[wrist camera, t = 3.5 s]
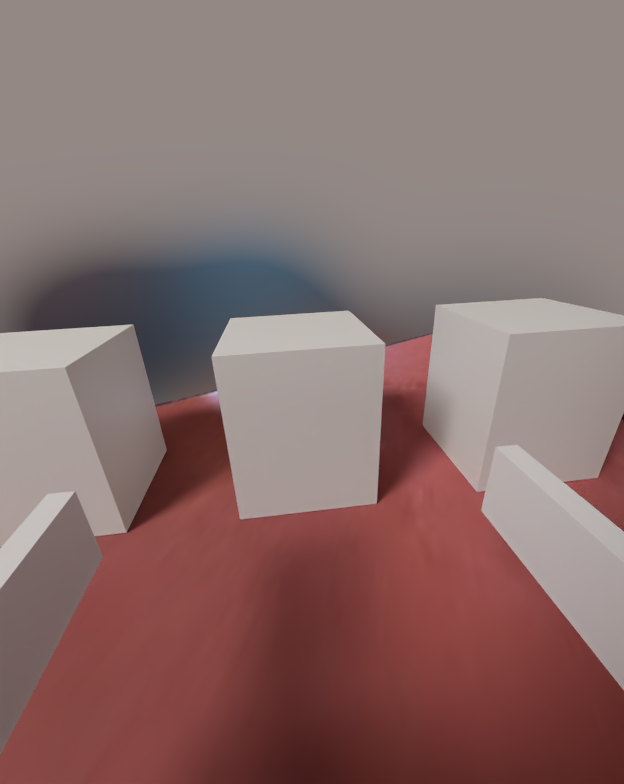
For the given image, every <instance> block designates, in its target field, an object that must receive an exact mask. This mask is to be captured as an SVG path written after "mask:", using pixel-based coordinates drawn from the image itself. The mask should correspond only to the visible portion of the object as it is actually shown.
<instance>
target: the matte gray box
mask: <svg viewBox="0 0 624 784" xmlns="http://www.w3.org/2000/svg"><path fill="white" fill-rule="evenodd" d="M166 451H167V449H166V445H165V442H164V438H163V434H162V430H161V427H160V423H159V419H158V415H157V412H156V408H155V404H154V401H153V397H152V393H151V389H150V386H149V382H148V378H147V374H146V371H145V367H144V363H143V359H142V356H141V352H140V348H139V344H138V341H137V337H136V333H135V330H134V326H133V325H121V326H104V327H89V328H74V329H59V330H45V331H44V330H43V331H28V332H12V333H0V547H2V546H3V545H4V544H5V542H6V541H7V540H8V539H9V538H10V537H11V535H12V534H13V533H14V532H15V531H16V530H17V529H18V527H19V526H20V525H21V524H22V523H23V522H24V520H25V519H26V518H27V517H28V516H29V515H30V514H31V512H32V511H33V510H34V509H35V508H36V507H37V506H38V504H39V503H40V502H41V501H42V500H43V499H44V497H45V496H46V495H47V494H53V493H62V492H72V491H75V492H76V494H77V496H78V499H79V501H80V503H81V506H82V508H83V511H84V513H85V515H86V518H87V520H88V522H89V525H90V527H91V530H92V532H93V534H94V536H102V535H111V534H119V533H127V531H128V529H129V527H130V525H131V523H132V521H133V519H134V517H135V515H136V513H137V511H138V508H139V506H140V504H141V502H142V500H143V498H144V496H145V494H146V492H147V490H148V488H149V486H150V484H151V482H152V480H153V478H154V476H155V474H156V472H157V470H158V467H159V465H160V463H161V461H162V459H163V457H164V455H165V453H166Z"/></svg>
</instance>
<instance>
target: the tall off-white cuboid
mask: <svg viewBox="0 0 624 784" xmlns="http://www.w3.org/2000/svg"><path fill="white" fill-rule="evenodd" d="M384 359H385V343H384V342H383V341H382V340H381V339H379V338H378V337H377V336H376V335H375V334H374V333H373V332H371V330H369V329H368V328H367V327H366V326H365V325H364V324H363V323H362V322H361V321H360V320H358V319H357V318H356V317H355V316H354V315H353V314H352V313H351V312H350V311H337V312H322V313H306V314H292V315H278V316H277V315H276V316H261V317H245V318H231V319H230V321H229V323H228V325H227V326H226V328H225V331H224V333H223V335H222V337H221V339H220V341H219V343H218V345H217V347H216V349H215V351H214V353H213V355H212V362H213V368H214V373H215V379H216V385H217V391H218V397H219V402H220V408H221V414H222V419H223V425H224V431H225V436H226V442H227V448H228V453H229V459H230V465H231V470H232V476H233V482H234V488H235V493H236V499H237V505H238V510H239V516H240V519H249V518H258V517H266V516H275V515H283V514H292V513H301V512H309V511H318V510H326V509H335V508H344V507H352V506H361V505H369V504H377V491H378V472H379V453H380V434H381V415H382V397H383V378H384Z"/></svg>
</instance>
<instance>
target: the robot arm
mask: <svg viewBox="0 0 624 784" xmlns="http://www.w3.org/2000/svg"><path fill="white" fill-rule="evenodd" d="M622 417H623V418H624V413H623V416H622ZM481 511H482V512H483V513H484V515H485V516H486V517H487V518H488V520H489V521H490V522H491V524H492V525H493V526H494V527H495V529H496V530H497V531H498V532H499V534H500V535H501V536H502V537H503V539H504V540H505V541H506V542H507V544H508V545H509V546H510V547H511V549H512V550H513V551H514V553H515V554H516V555H517V556H518V558H519V559H520V560H521V561H522V563H523V564H524V565H525V566H526V568H527V569H528V570H529V571H530V573H531V574H532V575H533V577H534V578H535V579H536V580H537V582H538V583H539V584H540V585H541V587H542V588H543V589H544V590H545V592H546V593H547V594H548V595H549V597H550V598H551V599H552V601H553V602H554V603H555V604H556V606H557V607H558V608H559V609H560V611H561V612H562V613H563V614H564V616H565V617H566V618H567V619H568V621H569V622H570V623H571V624H572V626H573V627H574V628H575V630H576V631H577V632H578V633H579V635H580V636H581V637H582V638H583V640H584V641H585V642H586V643H587V645H588V646H589V647H590V648H591V650H592V651H593V652H594V654H595V655H596V656H597V657H598V659H599V660H600V661H601V662H602V664H603V665H604V666H605V667H606V669H607V670H608V671H609V672H610V674H611V675H612V676H613V677H614V679H615V680H616V681H617V683H618V684H619V685H620V686H621V688H622V689H623V690H624V531H622V530H621V529H620V528H619V527H617V526H616V525H615V524H614V523H613V522H611V521H610V520H609V519H608V518H606V517H605V516H604V515H603V514H602V513H600V512H599V511H598V510H597V509H595V508H594V507H593V506H592V505H591V504H589V503H588V502H587V501H586V500H584V499H583V498H582V497H581V496H579V495H578V494H577V493H576V492H575V491H573V490H572V489H571V488H570V487H568V486H567V485H566V484H565V483H564V482H562V481H561V480H560V479H559V478H557V477H556V476H555V475H554V474H553V473H551V472H550V471H549V470H548V469H546V468H545V467H544V466H543V465H542V464H540V463H539V462H538V461H537V460H535V459H534V458H533V457H532V456H531V455H529V454H528V453H527V452H526V451H524V450H523V449H522V448H521V447H519V446H518V445H509V446H500V447H495V452H494V456H493V461H492V465H491V469H490V474H489V478H488V482H487V487H486V491H485V496H484V500H483V504H482V509H481ZM102 558H103V556H102V553H101V551H100V548H99V546H98V544H97V541H96V539H95V537H94V534H93V532H92V530H91V527H90V525H89V522H88V520H87V518H86V515H85V513H84V511H83V508H82V506H81V503H80V501H79V499H78V496H77V494H76V492H75V491H72V492H62V493H53V494H47V495H46V496H45V497H44V499H43V500H42V501H41V502H40V503H39V504H38V506H37V507H36V508H35V509H34V510H33V511H32V512H31V514H30V515H29V516H28V517H27V518H26V519H25V520H24V522H23V523H22V524H21V525H20V526H19V527H18V529H17V530H16V531H15V532H14V533H13V534H12V535H11V537H10V538H9V539H8V540H7V541H6V542H5V544H4V545H3V546H2V547H1V548H0V755H1V753H2V751H3V749H4V747H5V745H6V743H7V741H8V740H9V738H10V736H11V734H12V732H13V730H14V728H15V726H16V724H17V722H18V720H19V718H20V716H21V714H22V713H23V711H24V709H25V707H26V705H27V703H28V701H29V699H30V697H31V695H32V693H33V691H34V689H35V688H36V686H37V684H38V682H39V680H40V678H41V676H42V674H43V672H44V670H45V668H46V666H47V664H48V662H49V661H50V659H51V657H52V655H53V653H54V651H55V649H56V647H57V645H58V643H59V641H60V639H61V637H62V635H63V634H64V632H65V630H66V628H67V626H68V624H69V622H70V620H71V618H72V616H73V614H74V612H75V610H76V608H77V607H78V605H79V603H80V601H81V599H82V597H83V595H84V593H85V591H86V589H87V587H88V585H89V583H90V582H91V580H92V578H93V576H94V574H95V572H96V570H97V568H98V566H99V564H100V562H101V560H102Z"/></svg>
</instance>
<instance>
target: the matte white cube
mask: <svg viewBox="0 0 624 784" xmlns="http://www.w3.org/2000/svg"><path fill="white" fill-rule="evenodd" d="M623 413H624V316H623V315H618V314H614V313H609V312H605V311H600V310H595V309H591V308H586V307H581V306H577V305H572V304H568V303H562V302H558V301H554V300H549V299H544V298H538V299H537V298H536V299H521V300H505V301H490V302H474V303H461V304H460V303H459V304H444V305H436V311H435V320H434V329H433V337H432V346H431V355H430V364H429V372H428V381H427V390H426V399H425V408H424V417H423V425H422V426H423V427H424V428H425V429H426V430H427V432H428V433H429V434H430V435H431V437H432V438H433V439H434V440H435V441H436V443H437V444H438V445H439V446H440V448H441V449H442V450H443V451H444V452H445V454H446V455H447V456H448V457H449V459H450V460H451V461H452V462H453V463H454V465H455V466H456V467H457V468H458V470H459V471H460V472H461V473H462V474H463V476H464V477H465V478H466V479H467V481H468V482H469V483H470V484H471V485H472V487H473V488H474V489H475V490H476V492H480V491H486V487H487V482H488V478H489V474H490V469H491V465H492V461H493V456H494V452H495V447H500V446H509V445H518V446H519V447H521V448H522V449H523V450H524V451H526V452H527V453H528V454H529V455H531V456H532V457H533V458H534V459H535V460H537V461H538V462H539V463H540V464H542V465H543V466H544V467H545V468H546V469H548V470H549V471H550V472H551V473H553V474H554V475H555V476H556V477H557V478H559V479H560V480H561V481H562V482H566V481H575V480H583V479H592V478H598V476H599V473H600V471H601V468H602V466H603V463H604V461H605V458H606V456H607V453H608V451H609V448H610V446H611V443H612V441H613V438H614V436H615V433H616V431H617V428H618V426H619V423H620V421H621V418H622V416H623Z"/></svg>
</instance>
